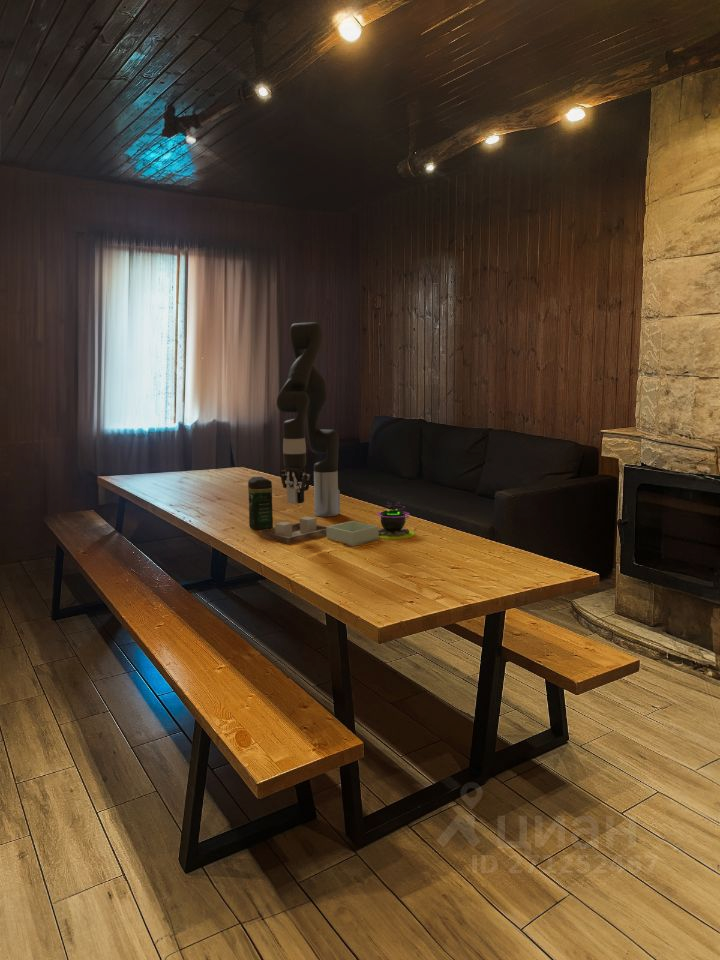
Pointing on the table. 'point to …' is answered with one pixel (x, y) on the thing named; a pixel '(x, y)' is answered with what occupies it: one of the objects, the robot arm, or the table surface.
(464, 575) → the table surface
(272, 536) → the tray
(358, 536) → the dump tub
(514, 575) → the table surface
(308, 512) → the table surface
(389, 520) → the toy cauldron
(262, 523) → the coffee jar
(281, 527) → the stone
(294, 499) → the stone
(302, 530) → the grey rectangular block
